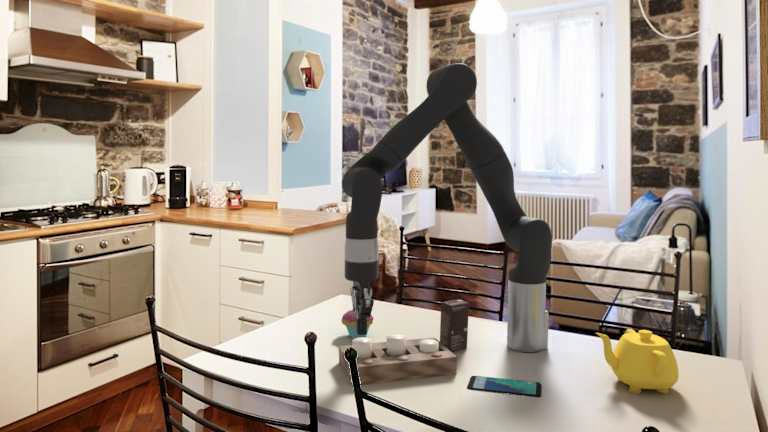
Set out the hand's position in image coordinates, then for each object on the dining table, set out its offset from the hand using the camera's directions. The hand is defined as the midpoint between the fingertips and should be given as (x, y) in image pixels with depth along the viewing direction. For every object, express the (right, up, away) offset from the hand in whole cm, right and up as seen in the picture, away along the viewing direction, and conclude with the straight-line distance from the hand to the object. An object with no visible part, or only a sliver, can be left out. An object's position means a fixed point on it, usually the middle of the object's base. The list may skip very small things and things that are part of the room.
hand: (361, 333), depth 126 cm
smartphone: (+31, -10, -7) cm, 33 cm away
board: (+8, -9, +3) cm, 12 cm away
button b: (+8, -6, +3) cm, 10 cm away
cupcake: (-2, -6, +27) cm, 28 cm away
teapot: (+58, -10, -7) cm, 59 cm away
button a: (+16, -7, +5) cm, 18 cm away
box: (+23, -7, +16) cm, 29 cm away
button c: (0, -6, +1) cm, 6 cm away
